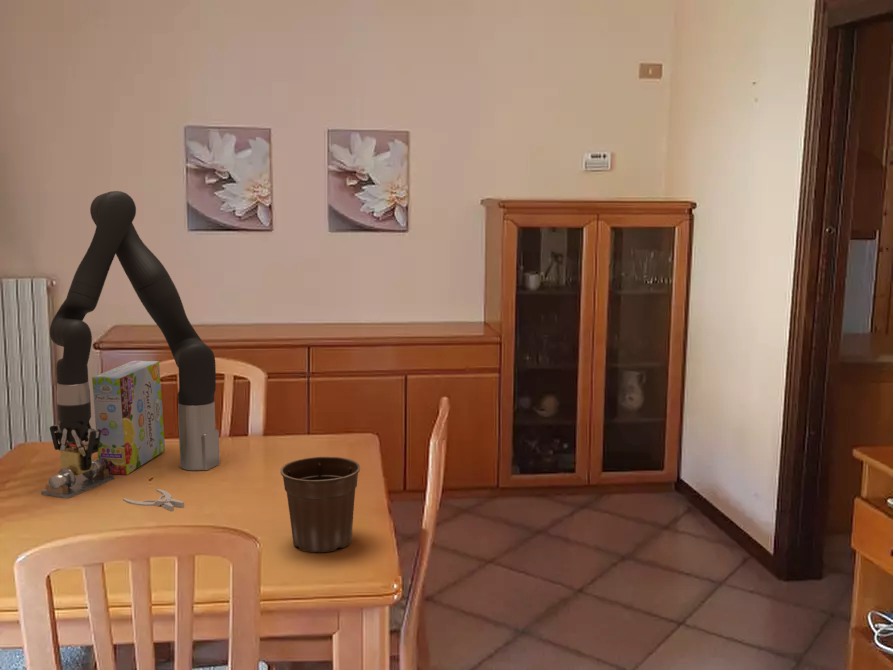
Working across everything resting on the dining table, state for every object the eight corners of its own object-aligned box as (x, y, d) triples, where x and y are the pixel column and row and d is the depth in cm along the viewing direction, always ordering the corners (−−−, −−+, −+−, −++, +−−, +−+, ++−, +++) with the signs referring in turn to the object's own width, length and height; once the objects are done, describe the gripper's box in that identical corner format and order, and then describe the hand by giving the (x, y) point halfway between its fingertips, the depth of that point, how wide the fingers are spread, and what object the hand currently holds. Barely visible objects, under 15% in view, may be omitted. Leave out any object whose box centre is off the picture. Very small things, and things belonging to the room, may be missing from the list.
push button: (92, 469, 226) (91, 441, 225) (77, 475, 222) (76, 446, 221) (76, 466, 228) (75, 439, 227) (61, 472, 223) (60, 444, 222)
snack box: (136, 450, 257) (132, 359, 252) (166, 452, 255) (162, 360, 251) (95, 473, 235) (90, 375, 231) (127, 475, 234) (122, 376, 230)
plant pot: (278, 558, 183) (277, 480, 180) (284, 529, 199) (283, 456, 196) (360, 556, 184) (360, 478, 182) (360, 527, 200) (360, 455, 198)
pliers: (158, 485, 223) (196, 498, 214) (159, 491, 223) (196, 505, 214) (121, 495, 216) (158, 509, 206) (122, 501, 216) (159, 516, 206)
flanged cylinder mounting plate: (88, 475, 234) (87, 453, 233) (114, 478, 231) (113, 456, 231) (41, 494, 219) (39, 471, 219) (67, 498, 217) (66, 475, 216)
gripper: (108, 400, 223) (111, 467, 226) (61, 394, 228) (65, 461, 231) (86, 406, 216) (89, 476, 219) (38, 400, 221) (42, 469, 224)
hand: (77, 468), depth 225 cm, fingers closed on push button, 5 cm apart
